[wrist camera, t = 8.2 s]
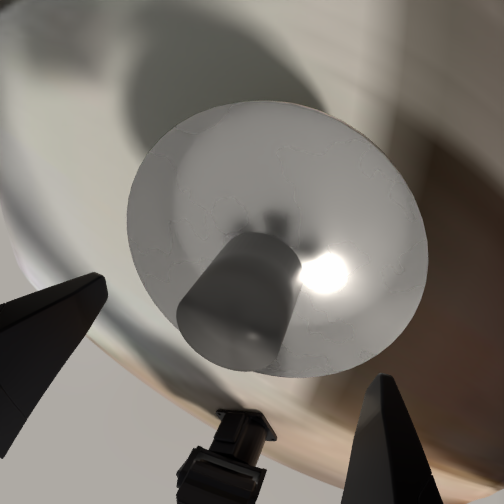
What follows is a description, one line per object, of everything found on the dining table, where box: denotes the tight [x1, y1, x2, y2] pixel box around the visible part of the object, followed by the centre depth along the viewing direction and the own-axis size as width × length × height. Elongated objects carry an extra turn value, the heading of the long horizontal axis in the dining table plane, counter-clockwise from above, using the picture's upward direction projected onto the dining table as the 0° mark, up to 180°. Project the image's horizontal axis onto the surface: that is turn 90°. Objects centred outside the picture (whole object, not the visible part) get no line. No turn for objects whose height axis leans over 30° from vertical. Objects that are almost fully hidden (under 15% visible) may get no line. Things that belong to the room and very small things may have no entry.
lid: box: [127, 100, 428, 378], centre depth 10 cm, size 12×12×4 cm
